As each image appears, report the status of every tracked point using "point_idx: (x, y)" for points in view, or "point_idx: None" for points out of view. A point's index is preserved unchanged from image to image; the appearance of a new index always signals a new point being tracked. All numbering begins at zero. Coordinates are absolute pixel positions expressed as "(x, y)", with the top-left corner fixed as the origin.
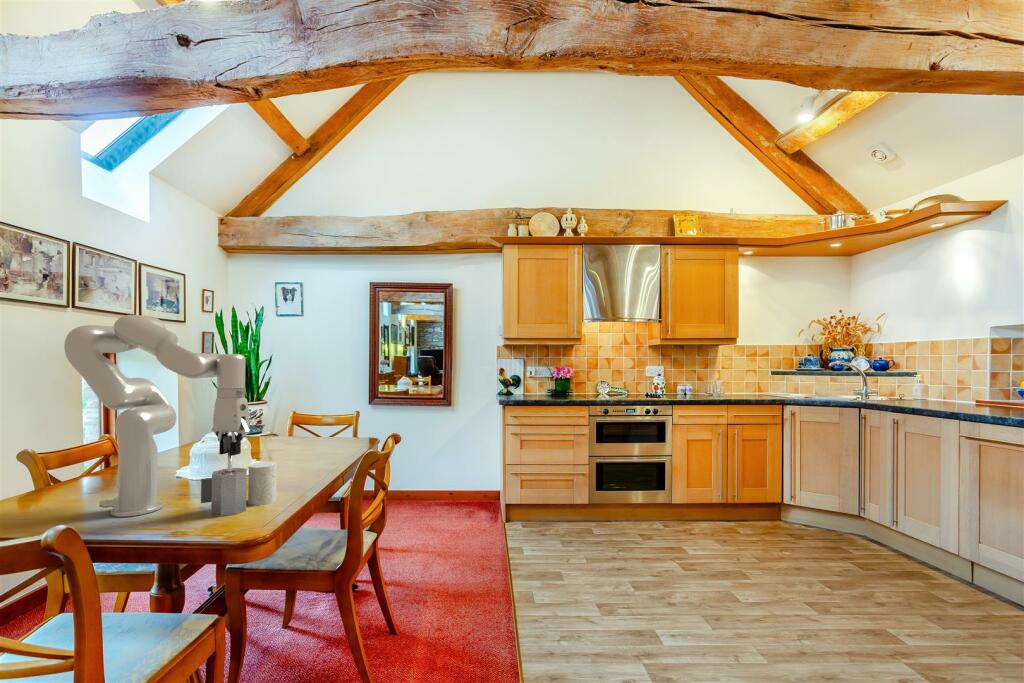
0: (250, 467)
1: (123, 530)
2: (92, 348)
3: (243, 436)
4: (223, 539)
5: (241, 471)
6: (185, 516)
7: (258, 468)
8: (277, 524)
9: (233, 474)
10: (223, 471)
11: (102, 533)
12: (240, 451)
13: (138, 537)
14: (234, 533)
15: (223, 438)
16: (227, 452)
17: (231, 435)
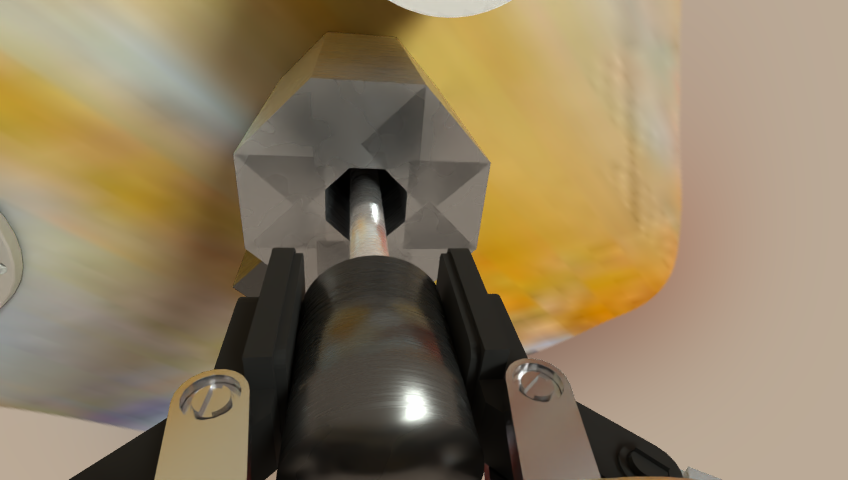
0: (406, 8)
1: (181, 380)
2: None
3: (639, 452)
4: (568, 334)
5: (456, 178)
6: (234, 229)
7: (498, 4)
8: (676, 193)
9: None
10: (315, 218)
11: (149, 411)
12: (470, 257)
13: None
14: (571, 295)
15: (265, 469)
16: (304, 278)
17: (335, 441)
